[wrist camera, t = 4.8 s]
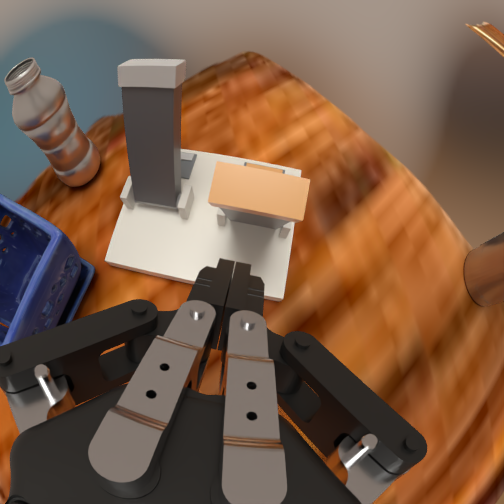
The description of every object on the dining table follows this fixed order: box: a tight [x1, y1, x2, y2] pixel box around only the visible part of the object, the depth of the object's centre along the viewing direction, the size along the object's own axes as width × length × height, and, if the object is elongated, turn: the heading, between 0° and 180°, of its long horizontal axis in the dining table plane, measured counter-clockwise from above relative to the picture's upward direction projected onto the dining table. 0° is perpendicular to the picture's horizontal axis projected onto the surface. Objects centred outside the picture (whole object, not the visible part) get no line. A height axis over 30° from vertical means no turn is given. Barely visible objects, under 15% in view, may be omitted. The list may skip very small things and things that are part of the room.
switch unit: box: [105, 149, 301, 302], centre depth 33 cm, size 16×20×5 cm
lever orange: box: [208, 161, 310, 229], centre depth 25 cm, size 2×5×16 cm, turn 79°
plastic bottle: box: [4, 58, 100, 187], centre depth 26 cm, size 6×7×20 cm
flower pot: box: [0, 194, 95, 346], centre depth 25 cm, size 13×13×12 cm
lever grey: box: [118, 59, 186, 210], centre depth 26 cm, size 2×5×16 cm, turn 80°
